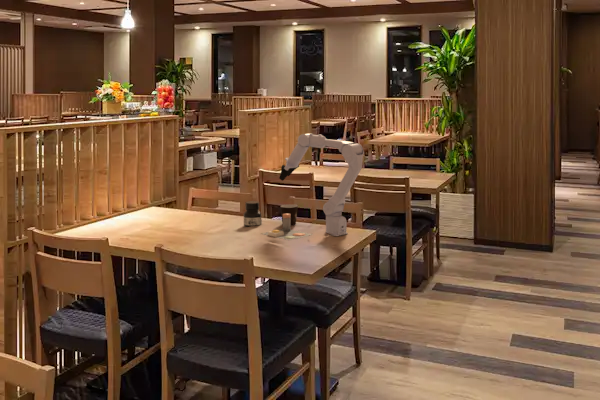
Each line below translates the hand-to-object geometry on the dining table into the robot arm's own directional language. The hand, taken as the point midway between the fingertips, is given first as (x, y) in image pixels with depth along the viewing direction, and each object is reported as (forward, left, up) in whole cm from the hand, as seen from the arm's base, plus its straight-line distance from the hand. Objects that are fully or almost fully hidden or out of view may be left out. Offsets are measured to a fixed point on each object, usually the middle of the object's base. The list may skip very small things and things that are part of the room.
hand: (284, 177), depth 311 cm
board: (-15, +13, -25) cm, 32 cm away
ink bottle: (+13, +9, -25) cm, 30 cm away
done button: (-13, +18, -23) cm, 32 cm away
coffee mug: (0, -5, -25) cm, 25 cm away
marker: (-10, +8, -24) cm, 27 cm away
